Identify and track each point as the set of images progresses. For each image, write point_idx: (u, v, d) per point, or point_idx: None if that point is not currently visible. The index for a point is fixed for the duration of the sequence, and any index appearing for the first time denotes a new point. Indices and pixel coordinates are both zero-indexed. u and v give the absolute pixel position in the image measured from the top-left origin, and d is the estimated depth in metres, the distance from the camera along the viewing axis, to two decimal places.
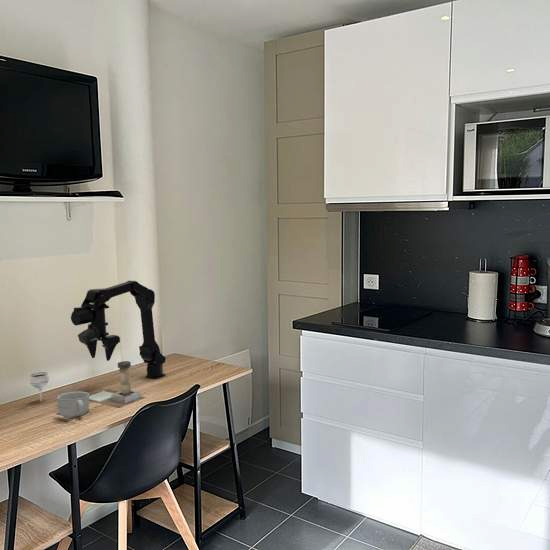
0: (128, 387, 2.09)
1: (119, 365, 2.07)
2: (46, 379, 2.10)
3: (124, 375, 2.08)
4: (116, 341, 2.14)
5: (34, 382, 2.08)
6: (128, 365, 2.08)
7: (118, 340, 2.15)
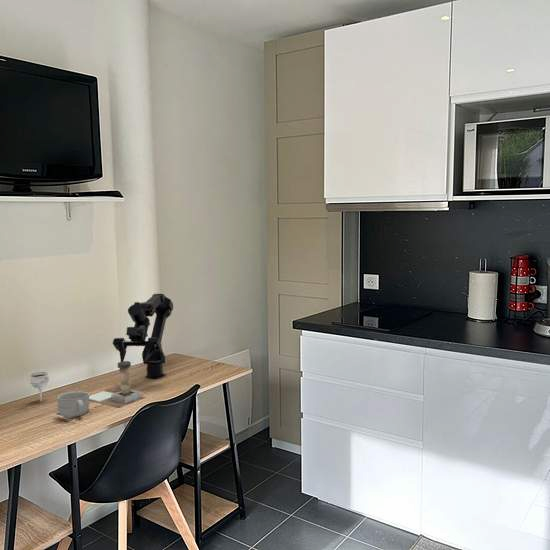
0: (128, 387, 2.09)
1: (119, 365, 2.07)
2: (46, 379, 2.10)
3: (124, 375, 2.08)
4: (159, 345, 2.22)
5: (34, 382, 2.08)
6: (128, 365, 2.08)
7: (160, 346, 2.23)
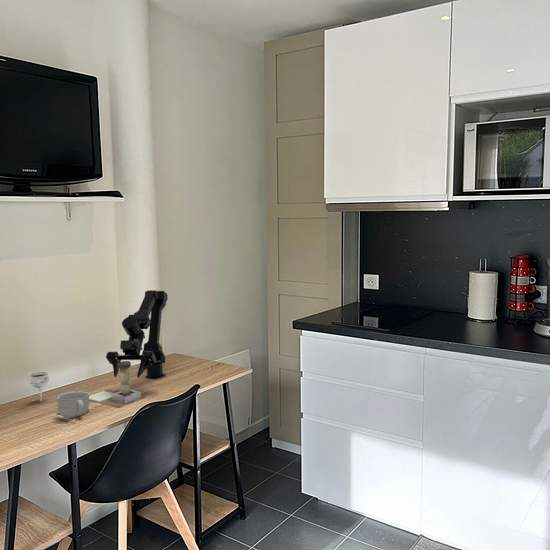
0: (128, 387, 2.09)
1: (119, 365, 2.07)
2: (46, 379, 2.10)
3: (124, 375, 2.08)
4: (154, 359, 2.16)
5: (34, 382, 2.08)
6: (128, 365, 2.08)
7: (155, 360, 2.17)
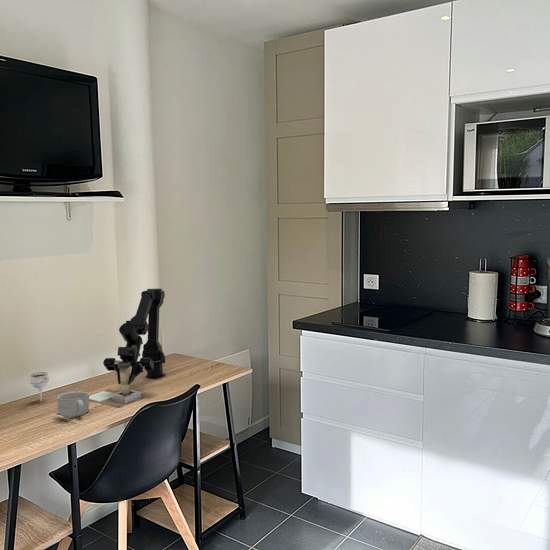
0: (128, 387, 2.09)
1: (119, 365, 2.07)
2: (46, 379, 2.10)
3: (124, 375, 2.08)
4: (152, 366, 2.13)
5: (34, 382, 2.08)
6: (128, 365, 2.08)
7: (153, 367, 2.14)
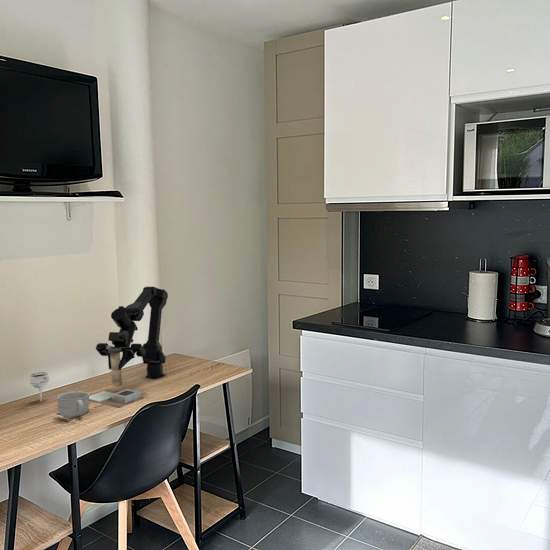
0: (118, 372, 2.09)
1: (109, 350, 2.07)
2: (46, 379, 2.10)
3: (114, 361, 2.08)
4: (143, 352, 2.12)
5: (34, 382, 2.08)
6: (118, 350, 2.08)
7: (144, 353, 2.13)
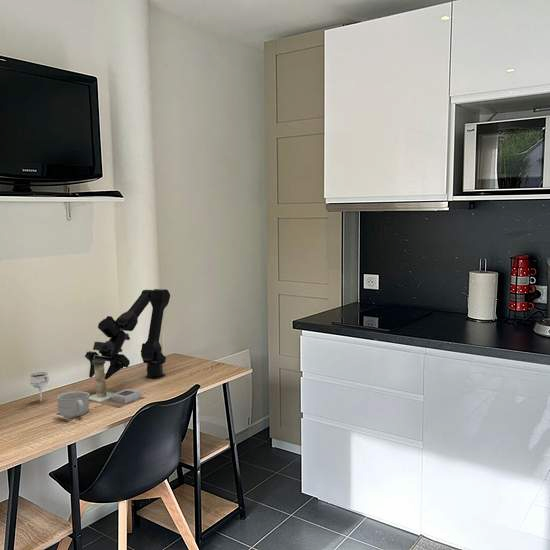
0: (101, 384, 2.12)
1: (92, 362, 2.11)
2: (46, 379, 2.10)
3: (97, 372, 2.12)
4: (126, 363, 2.13)
5: (34, 382, 2.08)
6: (100, 362, 2.11)
7: (128, 364, 2.14)
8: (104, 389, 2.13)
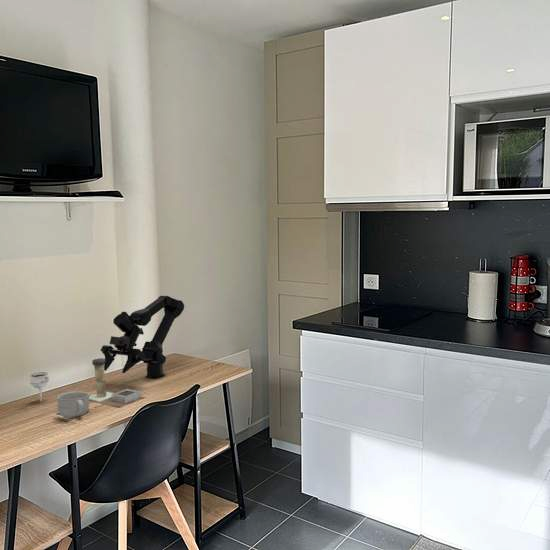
0: (101, 384, 2.12)
1: (92, 362, 2.11)
2: (46, 379, 2.10)
3: (97, 373, 2.11)
4: (141, 357, 2.22)
5: (34, 382, 2.08)
6: (101, 363, 2.11)
7: (143, 358, 2.22)
8: (104, 389, 2.13)
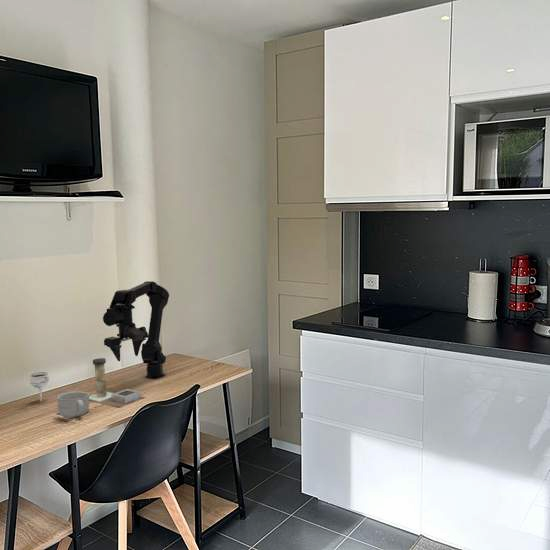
0: (101, 384, 2.12)
1: (93, 361, 2.12)
2: (46, 379, 2.10)
3: (97, 372, 2.12)
4: None
5: (34, 382, 2.08)
6: (101, 362, 2.11)
7: None
8: (104, 389, 2.13)
